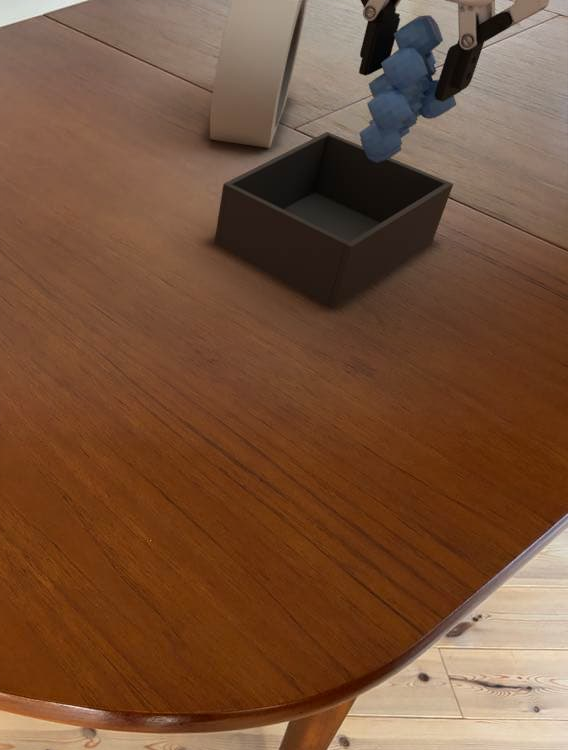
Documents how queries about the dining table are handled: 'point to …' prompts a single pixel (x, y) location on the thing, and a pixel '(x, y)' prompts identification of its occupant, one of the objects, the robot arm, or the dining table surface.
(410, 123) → the grapes
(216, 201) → the dining table surface
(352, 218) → the basket
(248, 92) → the alarm clock
